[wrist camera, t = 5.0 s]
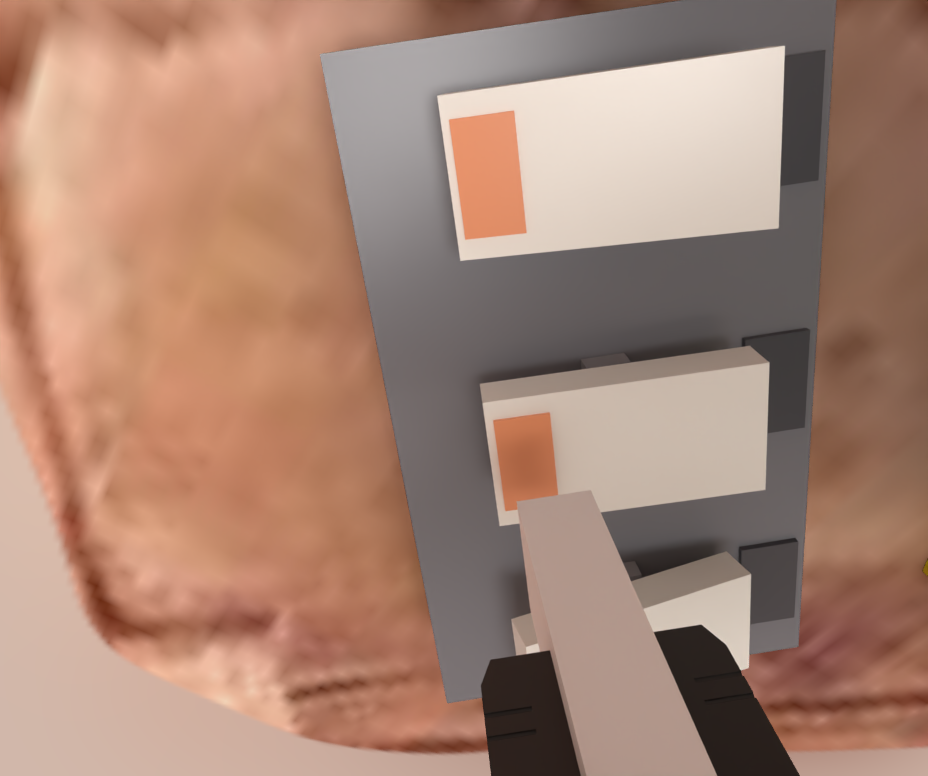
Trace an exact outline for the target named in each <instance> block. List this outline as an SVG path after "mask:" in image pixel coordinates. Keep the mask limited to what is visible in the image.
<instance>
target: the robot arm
mask: <svg viewBox="0 0 928 776" xmlns="http://www.w3.org/2000/svg"><path fill="white" fill-rule="evenodd" d="M517 508H518V516H519V524H520V532H521V540H522V548H523V556H524V564H525V571H526V579H527V587H528V595H529V603H530V610H531V615H532V619H533V623H534V628H535V632H536V636H537V641H538V645H539V650H540V652H536V653H529V654H523V655H517V656H510V657H504V658H498V659H491V660H490V662H489V665H488V667H487V670H486V673H485V675H484V678H483V681H482V684H481V693H482V701H483V710H484V717H485V727H486V735H487V742H488V743H487V744H488V752H489V760H490V769H491V776H800V775H799V773H798V772H797V770H796V768H795V766H794V765H793V763H792V761H791V759H790V757H789V755H788V754H787V752H786V750H785V748H784V747H783V745H782V743H781V741H780V739H779V738H778V736H777V734H776V732H775V731H774V729H773V727H772V725H771V723H770V722H769V720H768V718H767V716H766V715H765V713H764V711H763V709H762V707H761V706H760V704H759V702H758V700H757V699H756V698H754V695H753V691H752V690H751V688H750V686H749V684H748V682H747V681H746V679H745V677H744V676H742V674H741V670H740V668H739V666H738V665H737V663H736V661H735V659H734V658H733V656H732V654H731V652H730V650H729V649H728V647H727V645H726V644H725V643H723V642H722V641H721V640H720V639H719V638H717V637H716V636H715V635H714V634H712V633H711V632H710V631H709V630H708V629H706V628H705V627H704V626H703V625H695V626H688V627H682V628H676V629H669V630H663V631H657V632H653V630H652V627H651V625H650V623H649V621H648V618H647V616H646V614H645V612H644V609H643V607H642V605H641V603H640V600H639V598H638V596H637V594H636V591H635V589H634V587H633V585H632V582H631V580H630V578H629V575H628V573H627V571H626V569H625V566H624V564H623V562H622V560H621V557H620V555H619V553H618V551H617V548H616V546H615V544H614V542H613V539H612V537H611V535H610V533H609V530H608V528H607V526H606V524H605V521H604V519H603V517H602V514H601V512H600V510H599V508H598V505H597V503H596V501H595V499H594V496H593V494H592V492H591V490H587V491H581V492H574V493H568V494H562V495H555V496H549V497H542V498H536V499H529V500H523V501H517Z"/></svg>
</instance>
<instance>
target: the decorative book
mask: <svg viewBox="0 0 928 776" xmlns="http://www.w3.org/2000/svg"><path fill="white" fill-rule="evenodd" d="M923 572H924V573H925V574H926V575H927V576H928V559H927V562H926V564H925V566H924V568H923Z"/></svg>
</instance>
